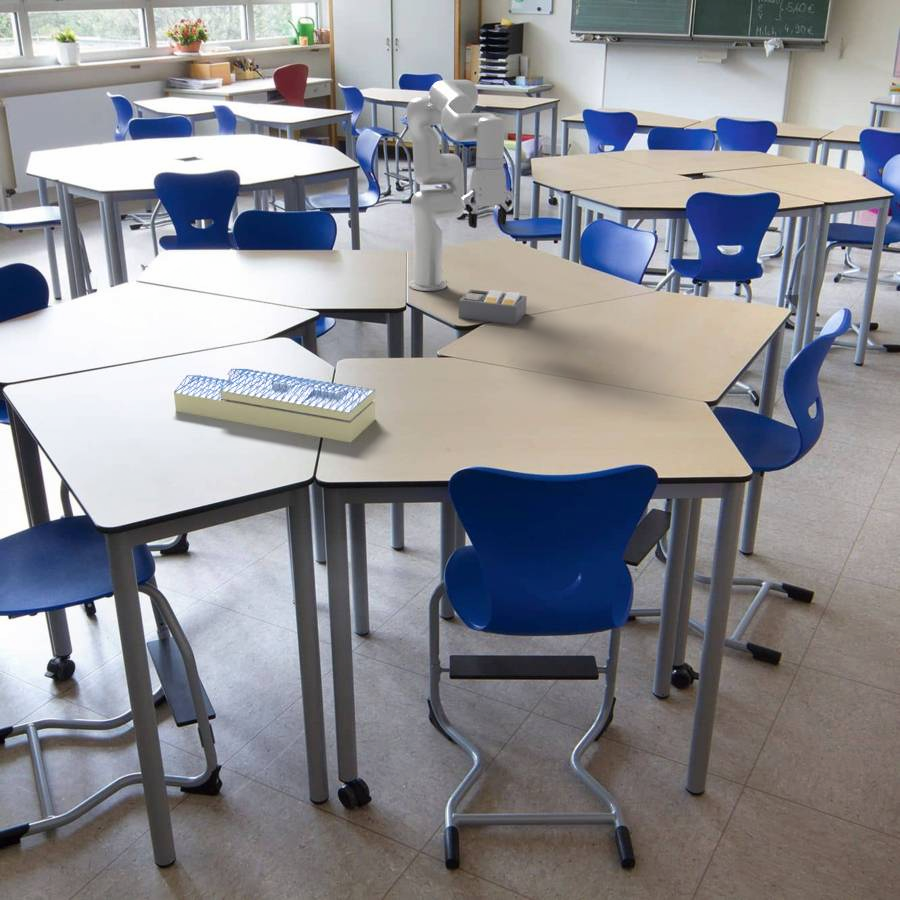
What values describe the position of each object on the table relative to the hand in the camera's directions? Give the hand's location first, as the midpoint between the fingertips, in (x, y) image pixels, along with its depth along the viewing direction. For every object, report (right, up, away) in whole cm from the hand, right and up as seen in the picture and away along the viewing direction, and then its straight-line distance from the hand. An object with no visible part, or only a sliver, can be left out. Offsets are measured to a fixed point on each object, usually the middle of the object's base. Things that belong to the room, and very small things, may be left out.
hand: (487, 225), depth 279 cm
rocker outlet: (+8, -19, +18) cm, 28 cm away
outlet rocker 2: (+3, -18, +20) cm, 27 cm away
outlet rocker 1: (-3, -17, +21) cm, 28 cm away
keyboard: (-51, -56, -50) cm, 91 cm away
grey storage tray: (+2, -23, +22) cm, 31 cm away
